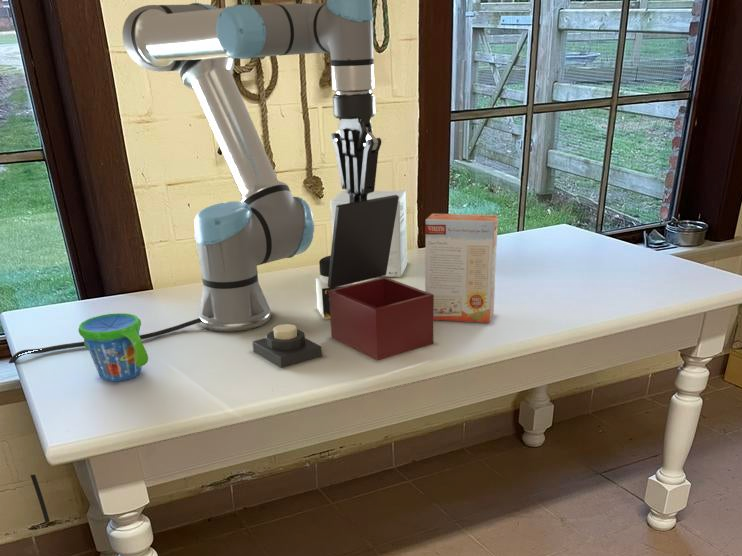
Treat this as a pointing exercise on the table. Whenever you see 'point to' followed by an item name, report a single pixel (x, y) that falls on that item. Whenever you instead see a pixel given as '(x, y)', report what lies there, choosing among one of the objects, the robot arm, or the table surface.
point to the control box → (287, 349)
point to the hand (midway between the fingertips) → (359, 230)
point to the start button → (285, 331)
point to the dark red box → (382, 317)
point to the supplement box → (399, 237)
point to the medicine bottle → (324, 288)
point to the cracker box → (461, 266)
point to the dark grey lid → (362, 240)
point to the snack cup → (114, 345)
